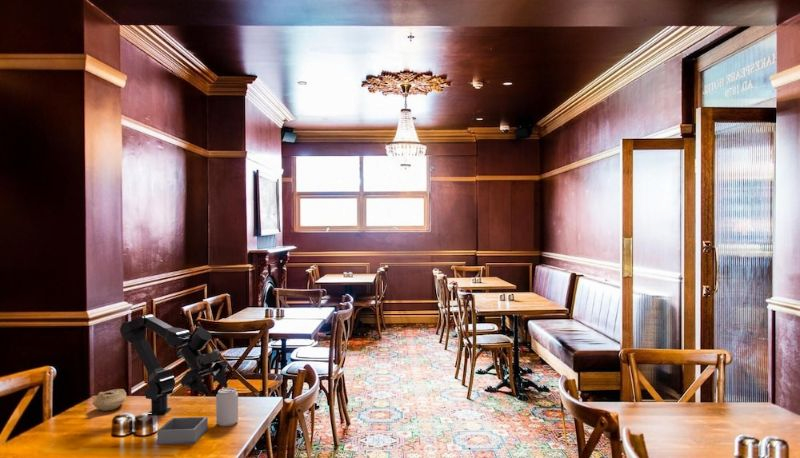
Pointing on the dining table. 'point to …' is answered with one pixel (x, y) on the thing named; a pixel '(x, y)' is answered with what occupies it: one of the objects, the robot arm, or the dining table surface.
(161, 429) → the open box
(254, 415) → the dining table surface
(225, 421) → the can
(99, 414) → the dining table surface
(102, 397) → the oil lamp
